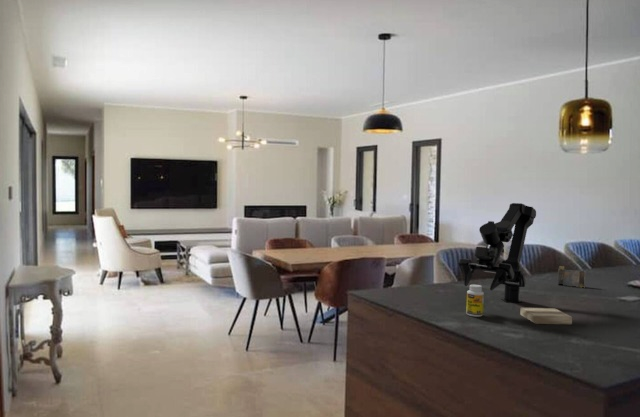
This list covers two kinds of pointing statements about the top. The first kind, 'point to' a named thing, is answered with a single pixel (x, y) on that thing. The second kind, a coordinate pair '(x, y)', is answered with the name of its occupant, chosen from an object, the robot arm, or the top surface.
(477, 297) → the supplement bottle
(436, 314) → the top surface
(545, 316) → the birch base
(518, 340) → the top surface
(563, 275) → the architectural model on board
